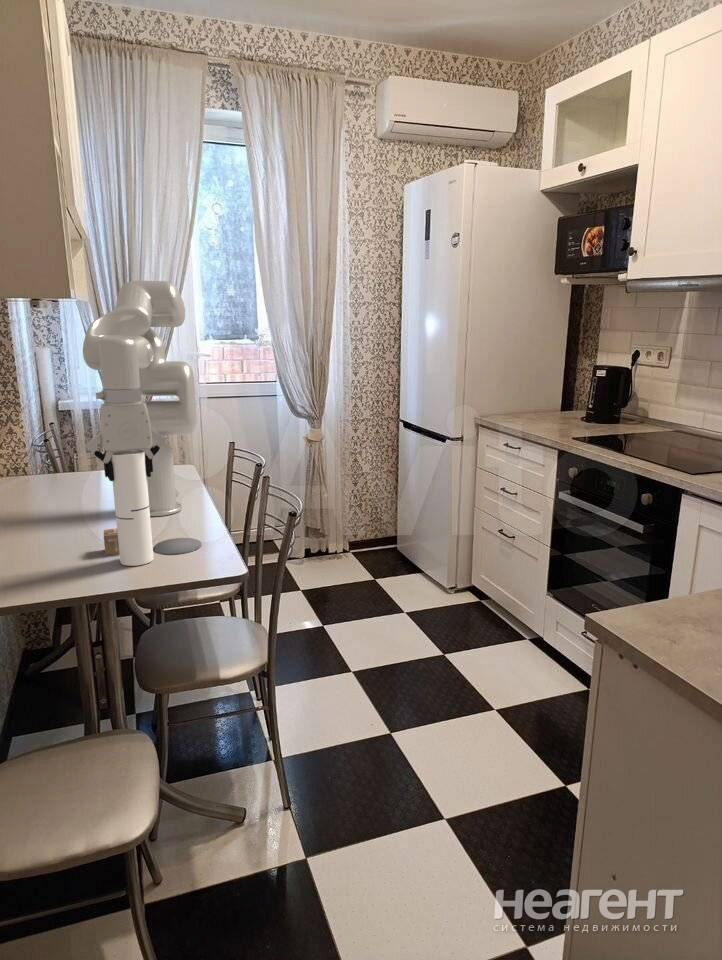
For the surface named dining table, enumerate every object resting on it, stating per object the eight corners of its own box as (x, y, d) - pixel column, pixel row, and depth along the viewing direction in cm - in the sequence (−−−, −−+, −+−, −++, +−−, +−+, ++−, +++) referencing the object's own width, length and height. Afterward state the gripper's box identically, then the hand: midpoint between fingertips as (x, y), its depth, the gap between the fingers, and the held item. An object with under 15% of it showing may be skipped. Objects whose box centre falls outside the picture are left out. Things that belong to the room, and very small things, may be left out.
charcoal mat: (166, 538, 160) (165, 537, 160) (208, 540, 159) (207, 538, 158) (146, 553, 149) (145, 551, 149) (190, 555, 148) (190, 554, 148)
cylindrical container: (156, 562, 143) (147, 453, 137) (123, 567, 140) (112, 456, 134) (149, 552, 149) (140, 447, 143) (117, 557, 146) (107, 450, 140)
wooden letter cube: (105, 549, 152) (103, 529, 151) (127, 547, 154) (126, 526, 153) (105, 556, 148) (103, 535, 146) (128, 554, 149) (126, 533, 148)
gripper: (80, 401, 128) (89, 486, 133) (168, 396, 136) (173, 476, 141) (76, 397, 134) (84, 478, 139) (160, 392, 143) (166, 469, 147)
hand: (129, 477), depth 140 cm, fingers closed on cylindrical container, 7 cm apart
